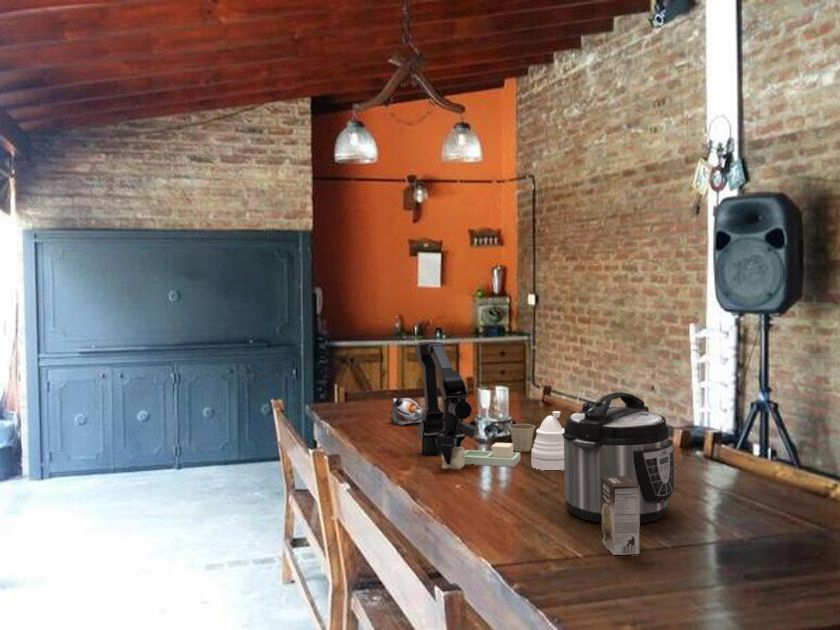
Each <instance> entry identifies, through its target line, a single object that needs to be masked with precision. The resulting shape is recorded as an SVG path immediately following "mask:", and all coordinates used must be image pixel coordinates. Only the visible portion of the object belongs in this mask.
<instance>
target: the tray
mask: <svg viewBox="0 0 840 630" xmlns="http://www.w3.org/2000/svg"><path fill="white" fill-rule="evenodd" d="M464 455H465V465H471V464H474V465H475V466H489V465H490V466H491V467H493V466H494V467H509V468H514V467H516V466H517V465H518V464H519V462H520V461H521V452H516V451H515V452H514V450H513V442H511V443H509V442H495V443H494V444H492V445H491V450H476V449H474V450H473V449H466V450H464Z"/></svg>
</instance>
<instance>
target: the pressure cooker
mask: <svg viewBox="0 0 840 630" xmlns="http://www.w3.org/2000/svg"><path fill="white" fill-rule="evenodd" d="M617 399H621V401H622V402H623V404H624V406H615V407H610V406H611V403H612V401H613V400H617ZM666 419H667V418H666V417H664V415H661V414H659V413H655V412H650V409H649V406H646V405H645V401H643V400H642V399H641V398H640V397H638V396H636V395H633V394H631V393H628V392H621V391H620V392H612V393H608V394H606V395H604V396H602V397H600V398H599V399H597V400H596V401H595V402H594V401H586V402H584V403H583V404H582V408H581V410H580V411H576V412H572V413H570V414H568V415H567V416H566V419H565V420H566V424H564V425H563V426H564V427H563V429H564V433H562V435H563V438H564V470H563V471H564V475H563V477H564V501H565V504H566V507H567V508H568V510H569V511H570V513H571V514H572V515H574V516H576V517H578V518H580V519H583V520H586V521H591V522H595V523H601V524H602V506H601V477H602V476H627V477H629V478H630V479H631V480H633V481H634V482H635V483H637V484H638V485H639V486H640V524H645V523H650V522H653V521H656V520H659V519H661V518H662V517H664V516H665V515H666V513H667V512H668V508H669V505H670V498H671V495H672V493H673V491H674V488H675V487H674V486H675V483H674V482H675V469H674V468H675V464H674V463H675V460H674V441H673V440H672V439H670V435H669V433H670V432H669V427H668V426H667V420H666Z"/></svg>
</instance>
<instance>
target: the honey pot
mask: <svg viewBox="0 0 840 630" xmlns="http://www.w3.org/2000/svg"><path fill="white" fill-rule="evenodd" d="M551 414H552V415H548V416H546V417H545V418H544V419H543V421H542V422H541V424H540V427H539V428H537V429H536V431H535V432H536V436H535V439H534V440H533V441H534V443H533V444H532V447H531V451H530V452H531V457H530V458H531V460H530V461H531V462H530V463H531V467H532V468H533V469H535V468H536V469H535V470H538V469H540V470H539V471H544V470H561V471H564V438H563V435H562V433H564V427H562V425H561V423H560V422H559V420H558V418H560V416H561V411H558V410H557V411H556V410H555V411H552V413H551Z"/></svg>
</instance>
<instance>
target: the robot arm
mask: <svg viewBox="0 0 840 630" xmlns="http://www.w3.org/2000/svg"><path fill="white" fill-rule="evenodd" d="M444 346H445V345H444V343H443V342H441V341H421V342H418V344H417V345H416V346H415V347H414V352H415V355H416V359H417V360H416V361H418V363H419V365H420V366H421V367H422V380H423V393H424V396H423V397H424V409H423V411H422V416H421V422H420V423H419V425H418V428H417V435H418V437H420V438H421V452H420V455H426V456H427V455H428V456H439V455H440V454H441V455H442V454H443V456H444V459H445V461H446V463H447V464H451V458H452V450H453V448H454V447H462V444H463V441H464V440H465V439H466V438H467V437H468V438H470V439H475V438H476V437H477V433H478V431H479V426H478V422H477V420H475V419H472V420H471V421H470V422H469V421H465V420H466V419H467V418H469V417H471V415H472V405H471V404H470V403H469V402H467V401H466V399H467V398H469V397H468V394H469V391H468V389H467V386H466V383H465V381H464V379H463V378H462V376H461V374H460V373H459V372H458V371H457V370H454V369H453V367H452V365H451V363H450V360H449V358H448V355H447V354H446V351H445V347H444ZM437 372H438V373H437ZM437 374H438V376H439V381H437V379H438V378H437ZM437 382H438V384H437ZM438 388H439V390H440V393H441V395H442V400H443V401H442V402H443V404H442V407H443V409H440V407H439V397H438V395H439V392H438ZM442 410H443V411H442Z"/></svg>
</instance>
